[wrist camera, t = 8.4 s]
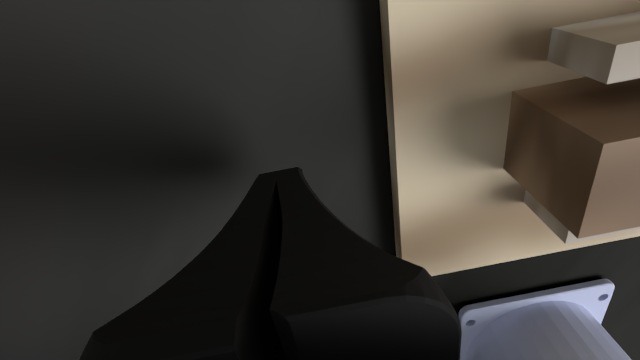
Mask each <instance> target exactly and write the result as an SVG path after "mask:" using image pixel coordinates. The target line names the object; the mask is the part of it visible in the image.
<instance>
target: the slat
mask: <svg viewBox="0 0 640 360" xmlns="http://www.w3.org/2000/svg"><path fill="white" fill-rule="evenodd" d="M503 169H504V170H505V171H506V172H507V173H508V174H510V175H511V176H512V177H513V178H514V179H515V180H516V181H517V182H518V183H519V184H520V185H521V186H522V187H523V188H524V189H525V190H527V191H528V192H529V193H530V194H531V195H532V196H533V197H534V198H535V199H536V200H537V201H538V202H539V203H540V204H541V205H542V206H544V207H545V208H546V209H547V210H548V211H549V212H550V213H551V214H552V215H553V216H554V217H555V218H556V219H557V220H558V221H559V222H561V223H562V224H563V225H564V226H565V227H566V228H567V229H568V230H569V231H570V232H571V233H572V234H573V235H574V236H575V237H577V238H578V239H579V238H584V237H589V236H594V235H600V234H605V233H610V232H615V231H620V230H625V229H630V228H635V227H640V78H638V79H632V80H627V81H622V82H617V83H611V84H604V83H602V82H599V81H597V80H594V79H592V78H589V77H583V78H577V79H572V80H567V81H562V82H557V83H552V84H547V85H541V86H536V87H531V88H526V89H521V90H516V91H512V98H511V107H510V115H509V124H508V132H507V141H506V149H505V158H504V166H503Z"/></svg>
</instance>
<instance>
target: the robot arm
mask: <svg viewBox="0 0 640 360" xmlns="http://www.w3.org/2000/svg"><path fill="white" fill-rule="evenodd" d="M614 289H615V285H614V284H613V283H612V282H611V281H610V280H609V279H599V280H594V281H589V282H584V283H578V284H573V285H568V286H563V287H558V288H553V289H548V290H542V291H537V292H532V293H527V294H522V295H517V296H511V297H506V298H501V299H496V300H491V301H486V302H480V303H475V304H470V305H466V306H464V307H462V308H461V309H460V311H459V317H458V316H457V313H456V311H455V309H454V308H453V306H452V304H451V303H450V301H449V300H448V298H447V297H446V295H445V294H444V292H443V291H442V290H441V288H440V287H439V285H438V284H437V283H436V281H435V280H434V279H433V278H432V276H431V275H430V274H429V273H428V272H427V270H426V269H425V268H423V267H421V266H418V265H416V264H413V263H411V262H408V261H406V260H403V259H401V258H398V257H396V256H394V255H391V254H389V253H387V252H385V251H384V250H382V249H380V248H378V247H376V246H375V245H373V244H372V243H370V242H368V241H367V240H365V239H364V238H362V237H360V236H359V235H357V234H356V233H355V232H354V231H352V230H351V229H350V228H348V227H347V226H346V225H345V224H343V223H342V222H341V221H340V220H339V219H338V218H337V217H336V216H334V215H333V214H332V213H331V212H330V210H329V209H328V208H327V207H326V206H325V205H324V204H323V203H322V202H321V201H320V199H319V198H318V197H317V196H316V194H315V193H314V192H313V191H312V189H311V188H310V186H309V185H308V183H307V181H306V180H305V178H304V176H303V173H302V170H301V169H300V168H298V167H295V168H290V169H285V170H280V171H275V172H269V173H264V174H259V175H258V177H257V178H256V180H255V181H254V183H253V185H252V186H251V188H250V190H249V191H248V193H247V195H246V196H245V198H244V199H243V201H242V202H241V204H240V205H239V207H238V208H237V210H236V211H235V213H234V214H233V216H232V217H231V218H230V220H229V221H228V222H227V223H226V225H225V226H224V227H223V229H222V230H221V231H220V232H219V233H218V235H217V236H216V237H215V238H214V239H213V240H212V241H211V242H210V243H209V244H208V246H207V247H206V248H205V249H204V250H203V251H202V252H201V253H200V254H199V255H198V256H197V257H196V258H194V259H193V260H192V261H191V262H190V263H189V264H188V265H187V266H185V267H184V268H183V269H182V270H181V271H180V272H179V273H177V274H176V275H175V276H174V277H173V278H172V279H170V280H169V281H168V282H166V283H165V284H164V285H163V286H161V287H160V288H159V289H157V290H156V291H155V292H153V293H152V294H151V295H149V296H148V297H146V298H145V299H144V300H142V301H141V302H139V303H138V304H136V305H135V306H133V307H132V308H130V309H129V310H127V311H126V312H124V313H122V314H121V315H119V316H118V317H116V318H115V319H113V320H111V321H110V322H108V323H107V324H105V325H104V326H102V327H100V328H98V329H97V330H95V331H94V332H93V334H92V335H91V337H90V339H89V341H88V343H87V345H86V347H85V349H84V351H83V353H82V355H81V357H80V360H631V359H630V357H629V356H628V355H627V354H626V353H625V352H624V351H623V349H622V348H621V347H620V346H619V345H618V344H617V343H616V342H615V340H614V339H613V338H612V337H611V336H610V335H609V334H608V332H607V331H606V330H605V329H604V328H603V327H602V326H601V323H602V320H603V317H604V315H605V312H606V310H607V307H608V304H609V302H610V299H611V297H612V294H613V291H614Z"/></svg>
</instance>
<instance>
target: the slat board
mask: <svg viewBox="0 0 640 360" xmlns="http://www.w3.org/2000/svg"><path fill="white" fill-rule="evenodd" d="M379 2H380V17H381V32H382V47H383V63H384V78H385V93H386V108H387V124H388V139H389V154H390V169H391V185H392V200H393V215H394V230H395V245H396V257H398V258H401V259H403V260H406V261H408V262H411V263H413V264H416V265H418V266H421V267H423V268H425V269H426V270H427V272H428V273H429V274H430V275H431V276H435V275H440V274H445V273H451V272H456V271H461V270H466V269H471V268H476V267H482V266H487V265H492V264H497V263H502V262H508V261H513V260H518V259H523V258H528V257H533V256H539V255H544V254H549V253H554V252H559V251H564V250H570V249H575V248H580V247H585V246H590V245H595V244H601V243H606V242H611V241H616V240H621V239H627V238H632V237H637V236H640V227H635V228H630V229H625V230H620V231H615V232H610V233H605V234H600V235H594V236H589V237H584V238H579V239H578V238H577V237H575V236H574V235H573V234H572V233H571V232H570V231H569V230H568V229H567V228H566V227H565V226H564V225H563V224H562V223H561V222H559V221H558V220H557V219H556V218H555V217H554V216H553V215H552V214H551V213H550V212H549V211H548V210H547V209H546V208H545V207H544V206H542V205H541V204H540V203H539V202H538V201H537V200H536V199H535V198H534V197H533V196H532V195H531V194H530V193H529V192H528V191H527V190H525V189H524V188H523V187H522V186H521V185H520V184H519V183H518V182H517V181H516V180H515V179H514V178H513V177H512V176H511V175H510V174H508V173H507V172H506V171H505V170H504V169H503V166H504V158H505V149H506V141H507V132H508V124H509V115H510V107H511V98H512V91H516V90H521V89H526V88H531V87H536V86H541V85H547V84H552V83H557V82H562V81H567V80H572V79H577V78H583V77H589V78H592V79H594V80H597V81H599V82H602V83H604V84H611V83H617V82H622V81H627V80H632V79H638V78H640V0H379Z"/></svg>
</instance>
